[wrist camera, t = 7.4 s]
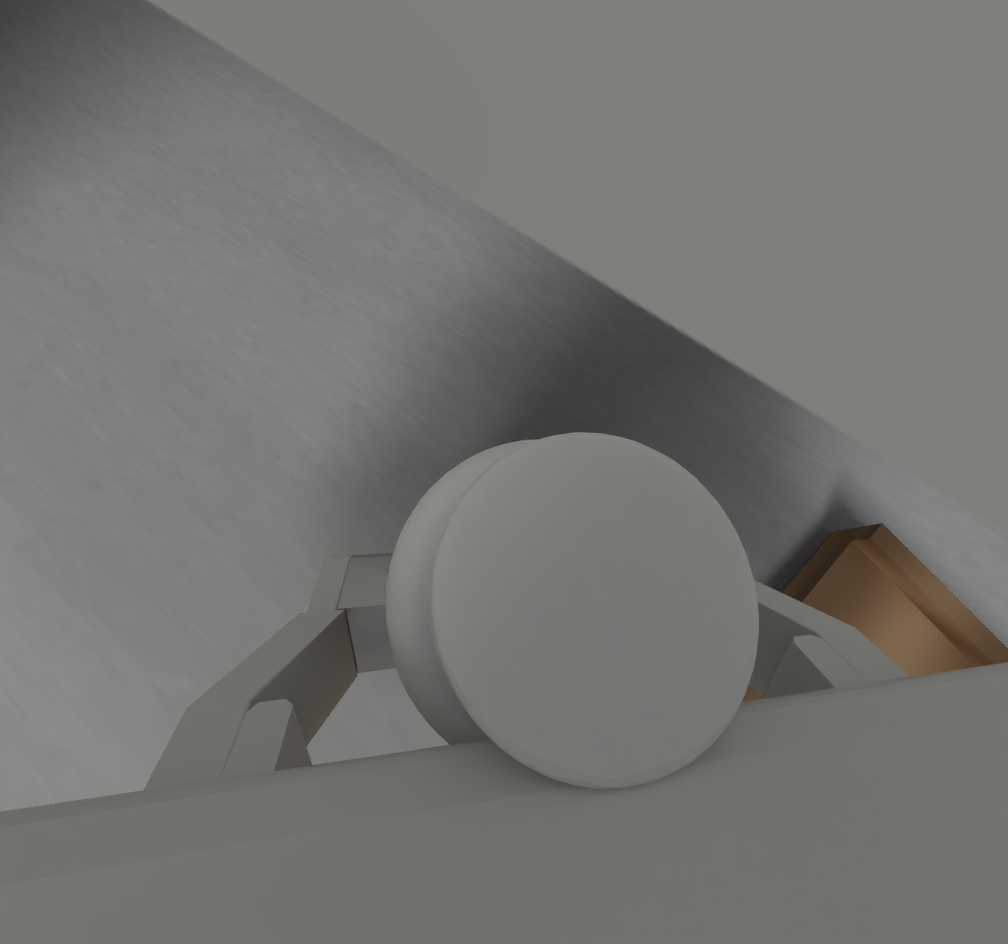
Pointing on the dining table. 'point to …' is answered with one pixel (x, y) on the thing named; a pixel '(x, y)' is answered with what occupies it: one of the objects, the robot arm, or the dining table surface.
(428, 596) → the supplement bottle
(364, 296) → the dining table surface
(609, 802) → the robot arm
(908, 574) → the coaster
